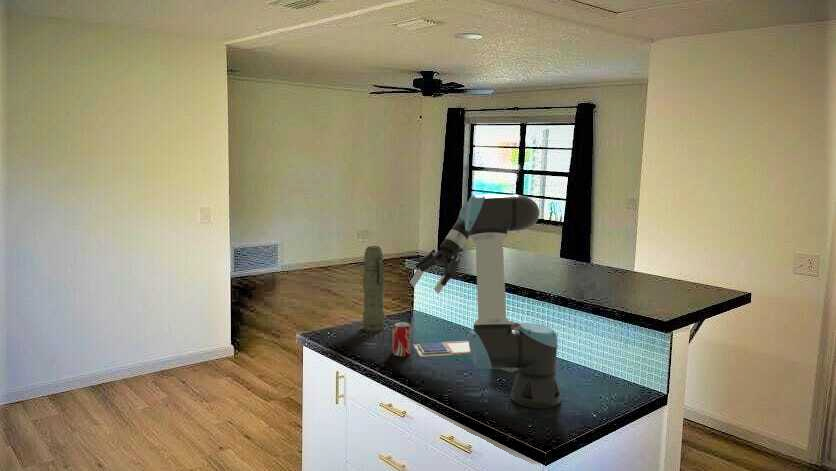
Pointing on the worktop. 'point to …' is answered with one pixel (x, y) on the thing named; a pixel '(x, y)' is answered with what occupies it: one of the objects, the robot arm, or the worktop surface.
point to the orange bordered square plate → (458, 347)
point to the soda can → (402, 339)
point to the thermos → (373, 289)
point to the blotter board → (432, 354)
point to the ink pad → (433, 348)
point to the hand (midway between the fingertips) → (423, 287)
